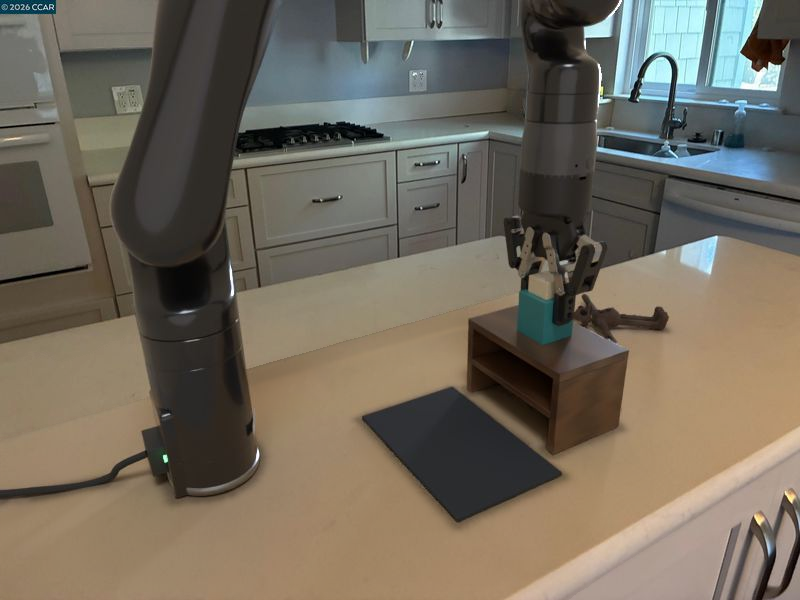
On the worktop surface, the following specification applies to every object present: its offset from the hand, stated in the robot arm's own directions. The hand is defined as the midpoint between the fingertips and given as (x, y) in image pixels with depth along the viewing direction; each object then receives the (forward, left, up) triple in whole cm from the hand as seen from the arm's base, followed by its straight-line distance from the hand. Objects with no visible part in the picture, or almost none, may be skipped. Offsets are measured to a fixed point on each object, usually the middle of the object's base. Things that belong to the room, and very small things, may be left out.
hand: (545, 314), depth 70 cm
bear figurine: (+25, +11, -13) cm, 30 cm away
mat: (-13, -1, -12) cm, 18 cm away
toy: (0, 0, -2) cm, 2 cm away
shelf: (0, 0, -12) cm, 12 cm away
